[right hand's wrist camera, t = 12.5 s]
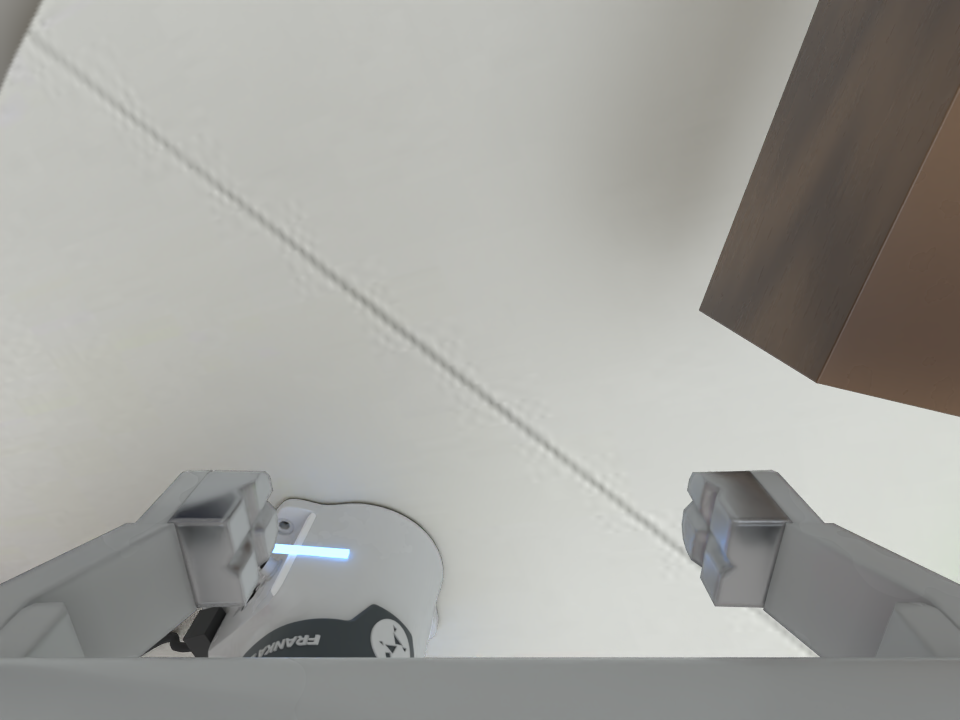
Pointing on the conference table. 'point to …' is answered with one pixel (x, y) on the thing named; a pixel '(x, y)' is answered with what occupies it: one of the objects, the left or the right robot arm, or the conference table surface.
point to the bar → (858, 209)
